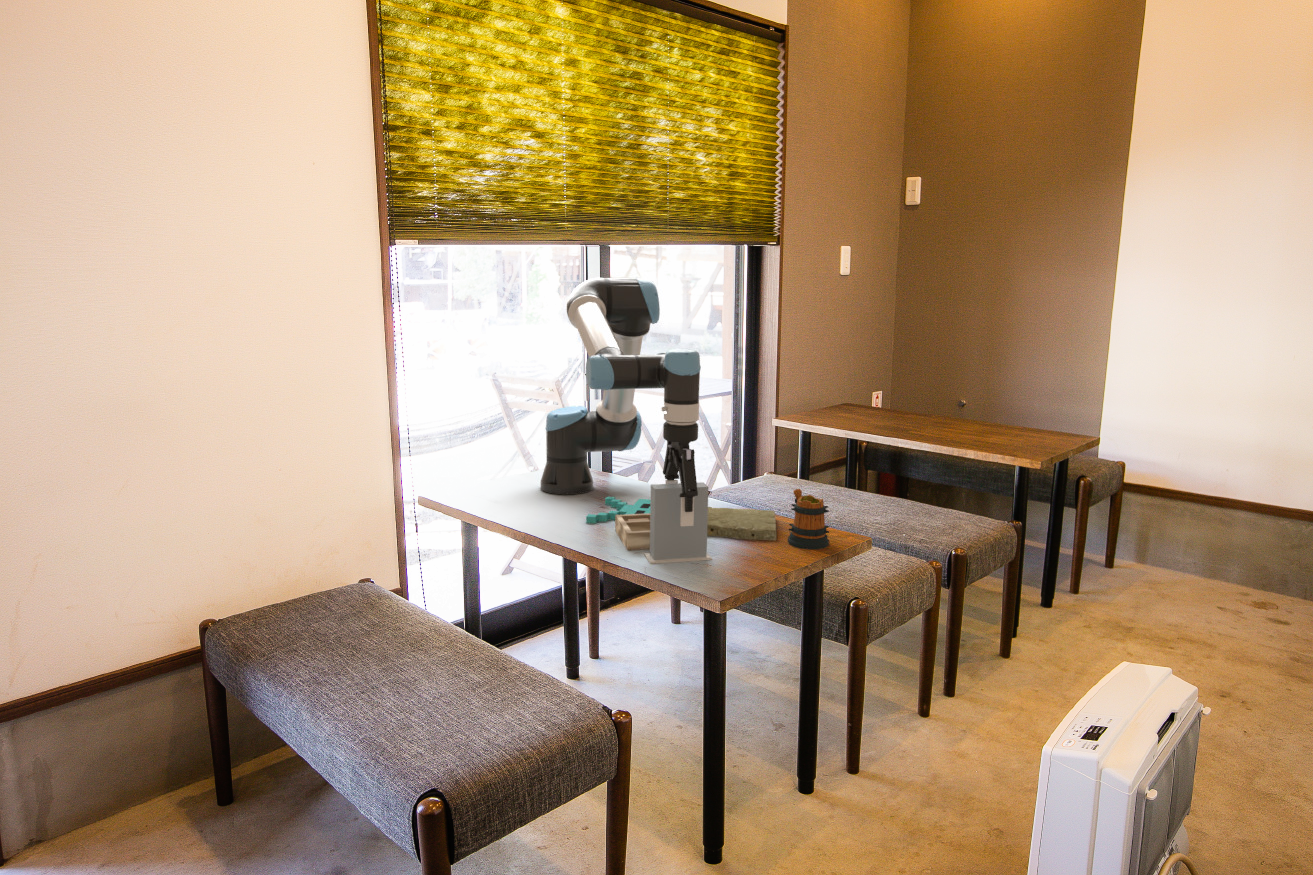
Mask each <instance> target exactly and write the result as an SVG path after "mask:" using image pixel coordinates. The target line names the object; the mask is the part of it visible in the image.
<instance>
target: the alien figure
mask: <svg viewBox="0 0 1313 875" xmlns="http://www.w3.org/2000/svg"><path fill="white" fill-rule="evenodd" d="M650 501H651V498H649V499H647V498H638V499H637V500H636V502H635V503H634V504H628V502H626V501H622V499H617V498H616V496H606V497H605V498H604V504H605V506H610V508H613V509H616V510H609V511H608V512H600V511H599V512H598V513H597V514H593V513H592V514H591V513H588V514H587V515H586V517H585V518H586V519H585V522H586V524H596V523H597V522H600V523H601V522H603V523H606V522H607V521H615V515H626V514H645V513H650Z"/></svg>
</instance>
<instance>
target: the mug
mask: <svg viewBox="0 0 1313 875" xmlns="http://www.w3.org/2000/svg"><path fill="white" fill-rule="evenodd" d="M802 494H803V491H802V489H801V488H795V489H794V490H793V495H794V496H795V498H794V503H791V504H790V505H791V506H792V508H791V511H794V517H793V518H794V519H793V523H788V525H789V526H791V528H789V529H788V531H789V532H790V533H789V536H788V537H787V543H788V544H789V546H792V547H793V548H798V549H801V550H812V551H813V550H815V551H816V550H822V549H825V548H827V547H829V545H830V539H828V537H829V536H828V534H830V530H827V529H828V528H829V527H830V526H829V525H826V521H825V520H826V518H825V513H829V512H830V510H828V509H827V508H829V506H828V505H825V502H824V499H823V498H818V497H817V498H816V497H815V496H814V495H811V494H807V495H802Z"/></svg>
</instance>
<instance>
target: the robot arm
mask: <svg viewBox="0 0 1313 875" xmlns="http://www.w3.org/2000/svg"><path fill="white" fill-rule="evenodd" d="M566 314H567V317H568V320H569V322H570V324H571V325H572V326H573V327H574V328H575V329H577V331H578V334H579V336H580V338H581V341H582V343H583V345H584V348H585V351H586V353H587V355H588V358H587V360H586V362H585V378H586V384H587V385H588V387H589V388H590V389H592V390H603V396H602V399H601V400H600V401H599V402H598V403H597V404H596V410H595V411H593V410H592V411H589V410H588V408H587V406H583V405H578V406H576V405H574V406H573V405H571V406H566V407H565V406H564V407H560V408H556V409H554V410H551V411H550V412H548V413H547V416H546V422H545V433H546V434H545V435H546V443H545V444H546V446H545V447H546V450H545V451H546V453H545V454H546V463H545V467H544V469H543V472H542V476H541V479H540V490H541V491H542V492H545V493H547V494H548V493H549V494H553V495H578V494H585V493H588V492H591V491H593V489H594V480H593V476H592V472H591V470H590V466H589V463H588V453H592V452H593V453H597V452H624V451H631V450H633V449H635V448H636V446H638V444H639V442H640V438H641V435H642V422H643V421H642V417H641V413H640V412H639V411H638V410H637V407H636V406H635V404H634V396H635V392H636V389H637V390H639V389H649V390H650V389H651V390H652V389H664V390H663V392H664V393H663V397H664V398H663V405H664V406H662V407H661V412H663V419H664V421H665V422H663V426H662V429H663V433H662V436H663V439H664V440H665V441H666V452H665V457H664V463H663V470H662V474H663V475H664V479H665V483H664V484H677V483H679V481H680V483H681V488H682V493H680V497H681V518H680V526H694V497H695V496H697V495H698V491H697V483H698V482H697V474H696V465H695V464H696V462H695V453H696V452H695V450H694V448H693V449H691V448H690V443H691V442H695V441H697V440H698V438H699V423H697V422H698V421H699V418H700V417H699V416H700V401H699V400H700V379H701V378H700V377H701V374H700V372H701V362H700V361H701V359H700V358H701V357H700V353H699V352H698V350H694V349H687V348H685V349H684V348H677V349H675V348H674V349H669V350H667V351H665V352H659V353H656V354H641V352H642V351H641V350H642V343H643V337H645V336H646V335H647V334H648V333H649V332H650V328H651V324H652V325H654V324H657V323H658V322H659V320H660V315H661V313H660V298H659V293H658V290H657V287H656V284H655V283H654V281H652V280H651V279H650V278H639V277H635V278H633V277H632V278H631V277H627V278H626V277H625V278H624V277H622V278H621V277H595V278H590V279H587V280H585V281H583V282H582V283H580V284H579V285H577V286H576V287H575V288H574V289H573V291H572V292H571V293H570V294H569V297H568V298H567V302H566ZM688 490H690V491H688Z"/></svg>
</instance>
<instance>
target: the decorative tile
mask: <svg viewBox="0 0 1313 875" xmlns="http://www.w3.org/2000/svg"><path fill="white" fill-rule="evenodd" d="M707 537H719V538H720V537H722V538H729V539H730V538H732V539H735V540H736V539H737V540H753V541H754V540H756V541H757V540H759V541H777V523H776V512H775V510H766V509H764V510H763V509H753V508H751V509H750V508H731V507H711V506H708V521H707Z"/></svg>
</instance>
